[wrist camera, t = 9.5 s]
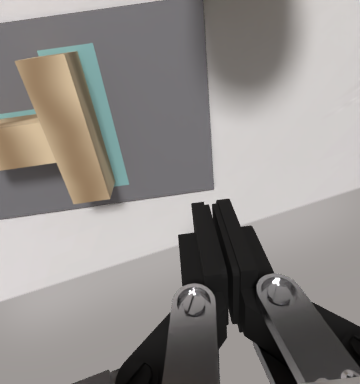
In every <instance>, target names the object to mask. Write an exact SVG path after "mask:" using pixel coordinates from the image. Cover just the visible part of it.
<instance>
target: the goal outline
mask: <svg viewBox="0 0 360 384" xmlns="http://www.w3.org/2000/svg"><path fill="white" fill-rule="evenodd" d="M74 51H77V52H78V55H79V59H80V62H81V65H82V69H83V72H84V76H85V79H86V83H87V86H88V89H89V93H90V96H91V100H92V103H93V106H94V110H95V113H96V117H97V120H98V124H99V127H100V130H101V134H102V137H103V141H104V144H105V148H106V151H107V154H108V158H109V161H110V165H111V168H112V172H113V175H114V178H115V184H114V187H115V186H122V185H129V181H128V177H127V173H126V169H125V166H124V162H123V158H122V154H121V150H120V146H119V142H118V138H117V135H116V131H115V127H114V123H113V119H112V115H111V111H110V107H109V104H108V100H107V96H106V92H105V88H104V84H103V80H102V77H101V73H100V69H99V65H98V61H97V57H96V53H95V49H94V46H93V43H89V44H82V45H75V46H67V47H60V48H53V49H46V50H39V51H37V53H38V56H46V55H53V54H60V53H67V52H74ZM32 114H36V112H35V110H34V109H32V110H25V111H18V112H11V113H4V114H0V119H4V118H11V117H18V116H25V115H32Z"/></svg>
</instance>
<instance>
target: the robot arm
mask: <svg viewBox="0 0 360 384" xmlns="http://www.w3.org/2000/svg"><path fill="white" fill-rule="evenodd" d="M191 205H192V214H193V224H194V233H189V234H181V235H178V238H179V249H180V262H181V274H182V286H183V287H181V288H180V289H179V290H178V291H177V292H176V293H175V295H174V297H173V301H172V307H171V312H170V313H169V314H168V315H167V316H166V318H165V319H164V320H163V321H162V322H161V323H160V324H159V325H158V326H157V327H156V328H155V329H154V331H153V332H152V333H151V334H150V335H149V336H148V337H147V338H146V339H145V341H143V343H142V344H141V345H140V346H139V347H138V348H137V349H136V350H135V351H134V352H133V353H132V355H131V356H130V357H129V358H128V359H127V360H126V361H125V362H124V363H123V365H122V366H121V368H120V369H117V370H114V371H112V372H110V371H109V370H106V371H104V372H101V373H98V374H96V375H93V376H91V377H88V378H86V379H83V380H80V381H78V382H75V383H73V384H220V374H219V348H220V347H221V346H222V344H223V343H224V341H225V340H226V338H227V327H226V326H227V325H228V309H229V313H230V317H231V321H232V323H233V324H238V328H239V332H243V333H244V336H246V337H247V338H248V339H250V340H252V341H253V345H254V348H255V350H256V352H257V355H258V357H259V359H260V361H261V364H262V366H263V368H264V370H265V373H266V375H267V377H268V379H269V382H270V384H360V327H359V326H357V325H355V324H354V323H352V322H350V321H348V320H346V319H344V318H342V317H340V316H338V315H336V314H334V313H332V312H330V311H328V310H326V309H324V308H322V307H320V306H318V305H317V304H315V303H313V302H311V301H310V300H309V298H308V297H307V296H306V294H305V293H304V292H303V290H302V289H301V288H300V286H299V285H298V284H297V283H296V282H295V281H294V280H293V279H291V278H289V277H287V276H285V275H282V274H275V273H274V272H273V269H272V267H271V265H270V263H269V261H268V259H267V257H266V254H265V252H264V250H263V248H262V246H261V244H260V242H259V239H258V237H257V235H256V233H255V231H254V229H253V227H252V226H244V227H241V226H240V224H239V221H238V219H237V216H236V214H235V211H234V209H233V207H232V204H231V202H230V199H222V200H217V201H216V204H212V211H213V218H212V214H211V211H210V207H209V205H204V202H199V203H191Z"/></svg>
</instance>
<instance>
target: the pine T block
mask: <svg viewBox="0 0 360 384" xmlns="http://www.w3.org/2000/svg"><path fill="white" fill-rule="evenodd" d="M15 64H16V66H17V68H18V71H19V73H20V76H21V78H22V80H23V83H24V85H25V88H26V90H27V93H28V95H29V97H30V100H31V102H32V105H33V107H34V110H35V112H36V114H32V115H25V116H18V117H11V118H4V119H0V171H2V170H9V169H16V168H23V167H30V166H37V165H44V164H51V163H57V165H58V168H59V170H60V172H61V175H62V177H63V180H64V182H65V185H66V187H67V189H68V192H69V194H70V197H71V199H72V202H73V204H79V203H86V202H93V201H100V200H107V199H110V198H111V194H112V191H113V187H114V184H115V178H114V175H113V172H112V168H111V165H110V161H109V158H108V154H107V151H106V148H105V144H104V141H103V137H102V134H101V130H100V127H99V124H98V120H97V117H96V113H95V110H94V106H93V103H92V100H91V96H90V93H89V89H88V86H87V83H86V79H85V76H84V72H83V69H82V65H81V62H80V59H79V55H78V52H77V51H74V52H67V53H60V54H53V55H46V56H39V57H33V58H28V59H22V60H17V61H15Z"/></svg>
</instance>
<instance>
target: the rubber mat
mask: <svg viewBox="0 0 360 384" xmlns="http://www.w3.org/2000/svg"><path fill="white" fill-rule="evenodd" d="M89 43H93V46H94V49H95V53H96V57H97V61H98V65H99V69H100V73H101V77H102V80H103V84H104V88H105V92H106V96H107V100H108V104H109V107H110V111H111V115H112V119H113V123H114V127H115V131H116V135H117V138H118V142H119V146H120V150H121V154H122V158H123V162H124V166H125V169H126V173H127V177H128V181H129V185H122V186H115V187H113V191H112V194H111V198H110V199H107V200H100V201H93V202H86V203H79V204H73V202H72V199H71V197H70V194H69V192H68V189H67V187H66V185H65V182H64V180H63V177H62V175H61V172H60V170H59V168H58V165H57V163H51V164H44V165H37V166H30V167H23V168H16V169H9V170H2V171H0V219H6V218H13V217H20V216H27V215H34V214H41V213H49V212H56V211H63V210H70V209H77V208H84V207H91V206H98V205H105V204H112V203H119V202H126V201H133V200H141V199H148V198H155V197H162V196H169V195H176V194H183V193H190V192H197V191H204V190H211V189H214V181H213V164H212V146H211V129H210V111H209V94H208V77H207V59H206V42H205V24H204V7H203V0H162V1H155V2H148V3H141V4H134V5H127V6H119V7H112V8H105V9H98V10H91V11H84V12H77V13H70V14H62V15H55V16H48V17H41V18H34V19H27V20H20V21H12V22H5V23H0V114H4V113H11V112H18V111H25V110H32V109H34V107H33V105H32V102H31V100H30V97H29V95H28V93H27V90H26V88H25V85H24V83H23V80H22V78H21V76H20V73H19V71H18V68H17V66H16V64H15V61H17V60H22V59H28V58H33V57H39V56H38V53H37V51H39V50H46V49H53V48H60V47H67V46H75V45H82V44H89Z"/></svg>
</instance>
